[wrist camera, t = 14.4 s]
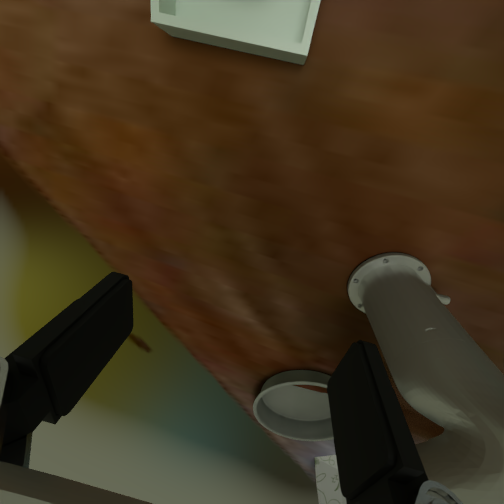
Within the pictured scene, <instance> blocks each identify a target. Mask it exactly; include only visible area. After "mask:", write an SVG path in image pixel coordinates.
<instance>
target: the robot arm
mask: <svg viewBox="0 0 504 504" xmlns="http://www.w3.org/2000/svg"><path fill="white" fill-rule="evenodd" d="M430 285H431V276H430V272H429V270H428V269H427V267H426V266H425V265H424V264H423V263H422V262H421V261H420V260H419V259H417V258H416V257H413V256H411V255H408V254H404V253H385V254H381V255H377V256H374V257H372V258H370V259H368V260H366V261H364V262H363V263H362V264H360V265H359V266H358V267H357V268H356V269H355V270H354V271H353V273H352V274H351V276H350V278H349V281H348V285H347V291H348V295H349V298H350V300H351V302H352V303H353V305H354V306H355V307H356V308H357V309H359V310H361V311H362V312H364V313H366V314H367V317H368V319H369V322H370V324H371V327H372V329H373V331H374V334H375V336H376V339H377V341H378V343H379V346H380V348H381V351H382V353H383V355H384V358H385V360H386V363H387V365H388V368H389V370H390V372H391V375H392V377H393V379H394V382H395V384H396V386H397V388H398V390H399V392H400V393H401V395H402V396H403V398H404V399H405V400H406V401H407V402H408V403H409V404H410V405H411V406H412V407H413V408H414V409H415V410H417V411H418V412H419V413H421V414H422V415H424V416H425V417H427V418H428V419H430V420H432V421H433V422H435V423H437V424H438V425H440V426H442V427H443V428H444V429H445V430H444V432H443V434H441V435H440V436H437V437H434V438H432V439H429V440H428V441H426V442H422V443H419V444H415V443H414V441H413V438H412V435H411V433H410V430H409V428H408V425H407V422H406V420H405V417H404V415H403V412H402V409H401V407H400V404H399V402H398V399H397V396H396V394H395V391H394V389H393V387H392V386H391V383H390V380H389V378H388V375H387V373H386V370H385V367H384V365H383V362H382V359H381V357H380V354H379V352H378V349H377V347H376V345H375V344H372V343H369V342H365V341H361V340H359V341H358V342H357V343H355V342H354V343H353V344H352V345H351V347H350V348H349V350H348V351H347V353H346V354H345V356H344V357H343V359H342V360H341V362H340V364H339V365H338V367H337V368H336V370H335V371H334V373H333V374H332V376H331V377H330V379H329V381H328V384H327V392H328V399H329V407H330V414H331V422H332V429H333V437H334V444H335V452H336V459H337V467H338V474H339V482H340V488H341V493H342V495H343V497H345V498H346V502H347V504H504V375H503V374H502V373H501V371H500V370H499V369H498V368H497V367H496V366H495V365H494V363H493V362H492V361H491V360H490V359H489V357H488V356H487V355H486V354H485V353H484V352H483V350H482V349H481V348H480V347H479V346H478V345H477V344H476V342H475V341H474V340H473V339H472V338H471V337H470V335H469V334H468V333H467V332H466V331H465V329H464V328H463V327H462V326H461V325H460V323H459V322H458V321H457V320H456V319H455V318H454V316H453V315H452V314H451V313H450V312H449V310H448V309H447V308H446V307H445V306H444V305H443V304H449V303H450V297H448V296H445V295H441V294H437V293H436V292H435V291H434V290H433V288H432V287H431V286H430ZM132 329H133V297H132V281H131V280H129V277H128V276H127V275H124V274H120V273H116V272H111V273H110V274H109V275H107V276H106V277H105V278H104V279H102V280H101V281H100V282H99V283H98V284H96V285H95V286H94V287H93V288H92V289H90V290H89V291H88V292H87V293H86V294H84V295H83V296H82V297H81V298H80V299H77V300H76V301H74V302H73V303H72V304H70V305H69V306H68V307H67V308H66V309H64V310H63V311H62V312H61V313H59V314H58V315H57V316H56V317H55V318H53V319H52V320H51V321H50V322H48V323H47V324H46V325H45V326H44V327H42V328H41V329H40V330H39V331H37V332H36V333H35V334H34V335H33V336H31V337H30V338H29V339H28V340H26V341H25V342H24V343H23V344H22V345H20V346H19V347H18V348H17V349H16V350H14V351H13V352H12V353H11V354H9V355H8V356H7V357H6V358H5V359H4V358H2V357H0V504H152V503H149V502H145V501H142V500H138V499H135V498H131V497H128V496H125V495H121V494H118V493H114V492H111V491H107V490H104V489H100V488H97V487H93V486H90V485H86V484H83V483H80V482H76V481H73V480H69V479H66V478H62V477H59V476H55V475H51V474H48V473H44V472H40V471H36V470H32V469H29V460H30V451H31V442H32V432H33V431H34V430H35V429H36V427H37V426H38V425H39V424H40V423H41V421H45V422H49V423H53V424H56V423H57V421H58V420H59V419H60V417H61V416H65V415H67V414H68V413H69V412H70V411H71V410H72V409H73V407H74V406H75V405H76V404H77V402H78V401H79V400H80V398H81V397H82V396H83V394H84V393H85V392H86V391H87V389H88V388H89V387H90V385H91V384H92V383H93V381H94V380H95V379H96V377H97V376H98V375H99V373H100V372H101V371H102V369H103V368H104V367H105V366H106V364H107V363H108V362H109V361H110V359H111V358H112V357H113V355H114V354H115V353H116V351H117V350H118V349H119V347H120V346H121V345H122V343H123V342H124V341H125V340H126V338H127V337H128V336H129V334H130V333H131V331H132Z"/></svg>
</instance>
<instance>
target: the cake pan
mask: <svg viewBox="0 0 504 504" xmlns="http://www.w3.org/2000/svg"><path fill="white" fill-rule="evenodd" d="M330 377H331V376H329V375H326V374H324V373H320V372H316V371H310V370H292V371H286V372H282V373H279V374H277V375H275V376H273V377H271V378H270V379H268V380H267V381H266V382H265V383H264V385H263V387H262V389H261V392H260V394H259V395H258V396H257V398H256V399H255V401H254V404H253V412H254V415H255V417H256V419H257V420H258V421H259V422H260V423H261V424H262V425H263V426H264V427H265V428H267V429H268V430H270V431H272V432H274V433H276V434H278V435H281V436H283V437H287V438H291V439H295V440H302V441H324V440H331V439H334V437H333V429H332V422H331V414H330V407H329V399H328V394H326V393H320V392H316V391H312V390H308V389H305V388H301V387H297V386H293V385H315V386H320V387H325V388H327V384H328V381H329V379H330Z"/></svg>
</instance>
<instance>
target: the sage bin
mask: <svg viewBox="0 0 504 504" xmlns="http://www.w3.org/2000/svg"><path fill="white" fill-rule="evenodd" d="M320 1H321V0H151V22H152V23H154V24H155V25H157V26H158V27H160V28H161V29H162V30H164V31H165V32H167V33H168V34H169V35H171V36H173V37H178V38H182V39H187V40H191V41H196V42H201V43H205V44H210V45H214V46H219V47H223V48H228V49H232V50H237V51H241V52H246V53H251V54H255V55H260V56H264V57H269V58H273V59H278V60H282V61H287V62H292V63H296V64H301V65H304V63H305V60H306V58H307V55H308V50H309V46H310V42H311V38H312V34H313V30H314V26H315V21H316V17H317V13H318V9H319V5H320Z"/></svg>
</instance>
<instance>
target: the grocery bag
mask: <svg viewBox="0 0 504 504" xmlns="http://www.w3.org/2000/svg"><path fill="white" fill-rule="evenodd" d="M315 470H316V484H317V492H318V499H319V504H347V502H346V498H345V497H343V495H342V493H341V488H340V482H339V474H338V467H337V459H336V455H331V456H323V457H316V458H315Z"/></svg>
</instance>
